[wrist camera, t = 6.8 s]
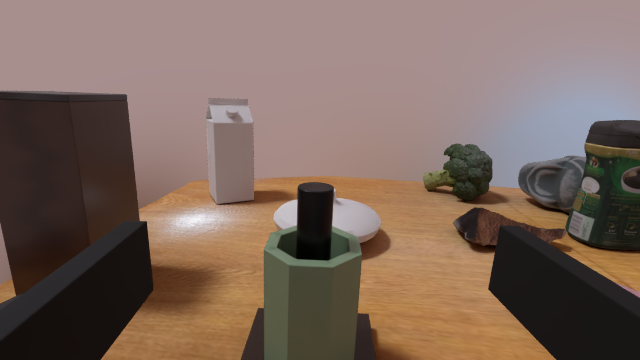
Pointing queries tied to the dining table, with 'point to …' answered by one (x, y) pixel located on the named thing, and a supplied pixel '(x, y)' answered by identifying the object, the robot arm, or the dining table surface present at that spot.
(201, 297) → the dining table surface
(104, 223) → the stand
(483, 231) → the stone
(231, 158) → the milk carton
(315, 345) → the green octagonal tube
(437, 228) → the dining table surface
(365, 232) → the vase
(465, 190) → the vegetable
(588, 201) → the coffee jar
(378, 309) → the dining table surface
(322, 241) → the peg stand
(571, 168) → the grey swirled rock
